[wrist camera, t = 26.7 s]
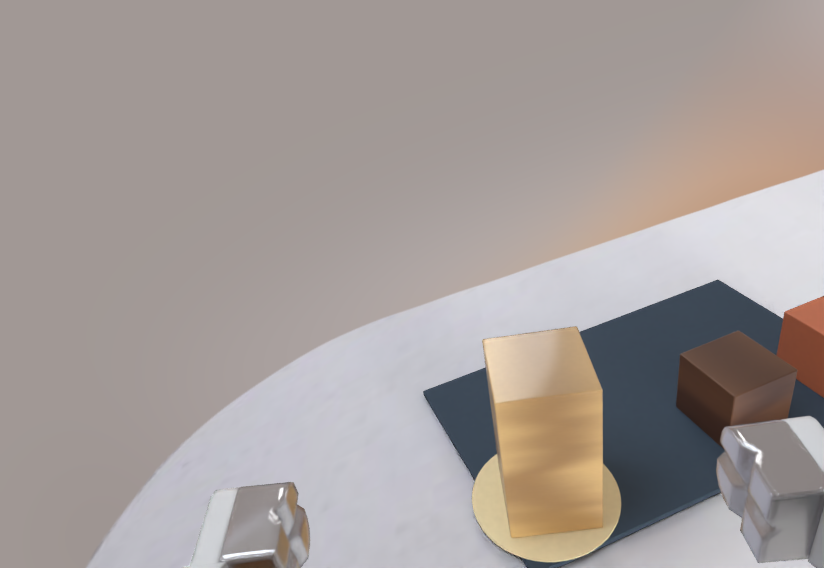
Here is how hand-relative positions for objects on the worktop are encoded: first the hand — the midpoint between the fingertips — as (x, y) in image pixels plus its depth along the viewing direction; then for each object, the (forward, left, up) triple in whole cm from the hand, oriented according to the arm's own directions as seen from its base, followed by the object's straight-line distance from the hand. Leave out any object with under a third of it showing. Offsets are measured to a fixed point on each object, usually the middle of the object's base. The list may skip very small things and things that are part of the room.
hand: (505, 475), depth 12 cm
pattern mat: (+7, +25, -21) cm, 33 cm away
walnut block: (+11, +23, -21) cm, 33 cm away
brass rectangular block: (0, +16, -21) cm, 26 cm away
